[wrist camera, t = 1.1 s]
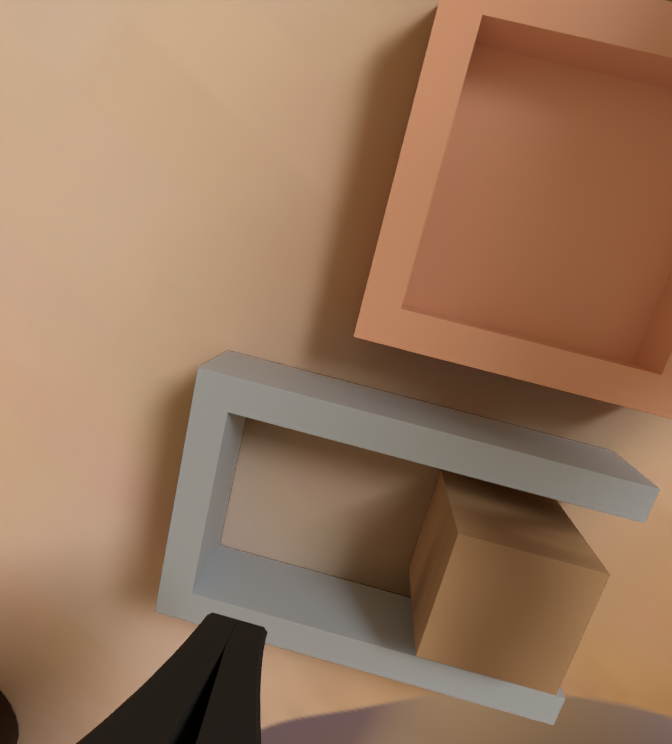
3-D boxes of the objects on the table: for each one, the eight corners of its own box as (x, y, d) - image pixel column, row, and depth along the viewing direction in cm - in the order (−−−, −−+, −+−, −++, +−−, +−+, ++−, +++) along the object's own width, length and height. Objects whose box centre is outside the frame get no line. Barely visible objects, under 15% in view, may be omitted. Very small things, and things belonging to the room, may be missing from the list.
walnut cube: (555, 499, 18) (610, 574, 14) (516, 597, 19) (556, 695, 15) (440, 468, 18) (458, 533, 14) (408, 567, 19) (416, 655, 15)
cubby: (614, 451, 17) (660, 489, 15) (528, 657, 20) (553, 724, 17) (228, 350, 18) (197, 367, 15) (187, 561, 20) (154, 611, 17)
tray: (776, 79, 14) (855, 43, 12) (641, 399, 17) (684, 422, 15) (440, 3, 15) (451, -48, 12) (357, 326, 17) (353, 336, 15)
